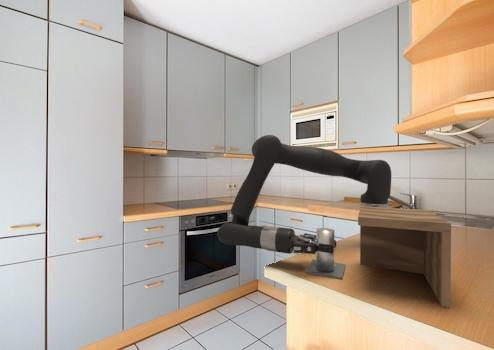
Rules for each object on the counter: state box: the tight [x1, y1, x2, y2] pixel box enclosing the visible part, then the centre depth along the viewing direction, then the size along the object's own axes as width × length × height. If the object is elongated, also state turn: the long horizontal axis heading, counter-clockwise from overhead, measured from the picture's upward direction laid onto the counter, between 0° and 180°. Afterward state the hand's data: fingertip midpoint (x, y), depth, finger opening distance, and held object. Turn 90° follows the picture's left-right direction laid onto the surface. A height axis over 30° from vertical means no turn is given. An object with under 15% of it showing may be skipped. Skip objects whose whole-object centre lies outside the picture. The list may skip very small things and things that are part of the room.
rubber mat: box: [304, 258, 347, 280], centre depth 76 cm, size 11×10×1 cm
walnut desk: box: [357, 206, 452, 309], centre depth 67 cm, size 21×18×18 cm
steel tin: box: [315, 227, 335, 271], centre depth 74 cm, size 5×5×11 cm
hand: (334, 246), depth 73 cm, fingers closed on steel tin, 5 cm apart
